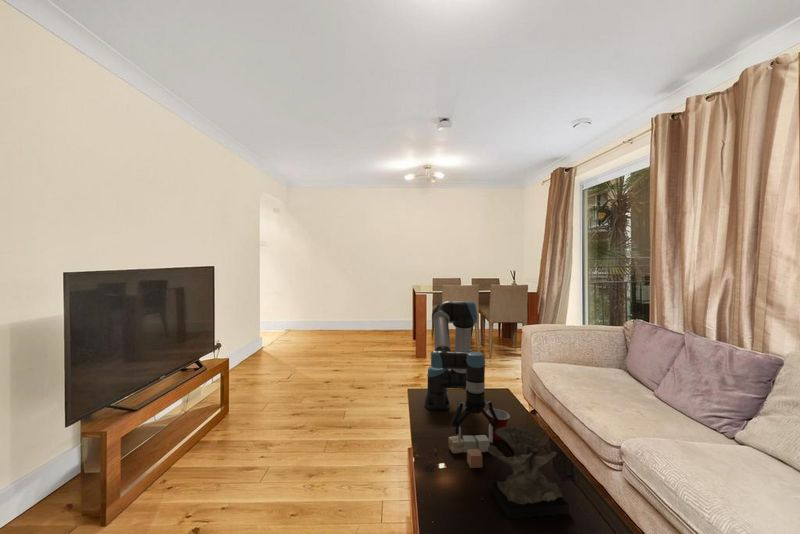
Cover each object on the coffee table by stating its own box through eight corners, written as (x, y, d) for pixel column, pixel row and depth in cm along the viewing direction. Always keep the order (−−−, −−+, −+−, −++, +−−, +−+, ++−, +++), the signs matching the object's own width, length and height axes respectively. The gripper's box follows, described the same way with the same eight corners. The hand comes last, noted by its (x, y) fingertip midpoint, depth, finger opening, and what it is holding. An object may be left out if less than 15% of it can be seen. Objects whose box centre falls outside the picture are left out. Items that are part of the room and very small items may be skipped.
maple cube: (448, 447, 152) (448, 437, 151) (458, 446, 153) (458, 435, 153) (453, 454, 147) (453, 442, 147) (463, 452, 148) (463, 441, 148)
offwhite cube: (474, 446, 153) (474, 435, 153) (484, 445, 154) (484, 434, 154) (479, 452, 148) (479, 441, 148) (489, 451, 149) (489, 440, 149)
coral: (497, 520, 109) (498, 455, 109) (477, 480, 129) (478, 424, 129) (570, 515, 111) (571, 451, 111) (539, 477, 131) (540, 422, 131)
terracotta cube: (466, 461, 142) (467, 449, 141) (478, 460, 142) (478, 448, 142) (470, 468, 137) (470, 456, 136) (482, 467, 137) (482, 455, 137)
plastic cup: (511, 444, 155) (511, 418, 155) (487, 442, 156) (487, 417, 156) (507, 432, 165) (507, 408, 165) (485, 431, 167) (485, 407, 167)
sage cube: (462, 446, 153) (462, 435, 153) (473, 446, 153) (473, 435, 153) (464, 452, 148) (464, 441, 148) (475, 452, 148) (475, 441, 148)
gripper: (448, 394, 134) (447, 447, 134) (507, 393, 136) (507, 444, 136) (443, 387, 142) (443, 437, 141) (500, 386, 144) (500, 435, 144)
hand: (474, 441), depth 139 cm, fingers open, 13 cm apart
